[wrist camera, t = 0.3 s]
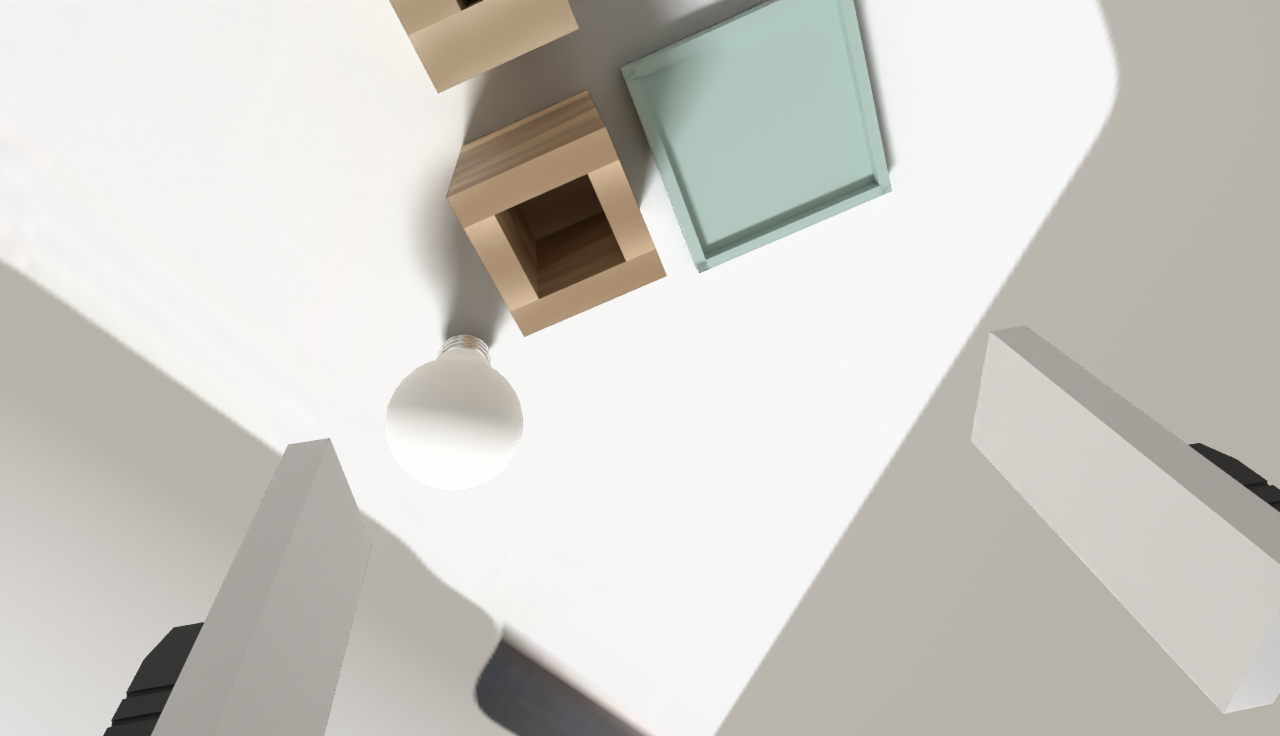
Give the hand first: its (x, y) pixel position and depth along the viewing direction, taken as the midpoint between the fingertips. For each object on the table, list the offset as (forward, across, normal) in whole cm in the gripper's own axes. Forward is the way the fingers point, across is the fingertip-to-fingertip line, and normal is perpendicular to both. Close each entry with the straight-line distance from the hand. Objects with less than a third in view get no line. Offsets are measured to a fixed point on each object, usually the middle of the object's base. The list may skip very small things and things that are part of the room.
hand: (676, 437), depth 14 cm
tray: (+26, +10, -1) cm, 28 cm away
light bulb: (+27, -8, -11) cm, 30 cm away
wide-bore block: (+26, -2, -2) cm, 27 cm away
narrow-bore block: (+27, -4, +8) cm, 28 cm away
